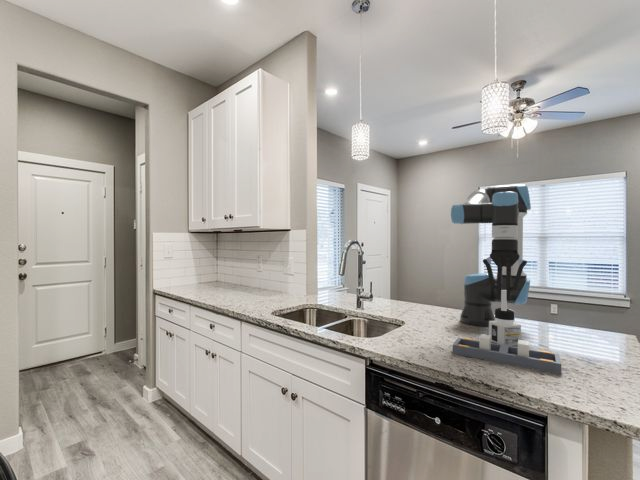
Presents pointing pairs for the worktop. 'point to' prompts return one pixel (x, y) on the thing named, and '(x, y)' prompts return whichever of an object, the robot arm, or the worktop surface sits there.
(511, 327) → the container
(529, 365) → the tray
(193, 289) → the worktop surface
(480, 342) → the tab
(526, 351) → the tab
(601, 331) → the worktop surface
